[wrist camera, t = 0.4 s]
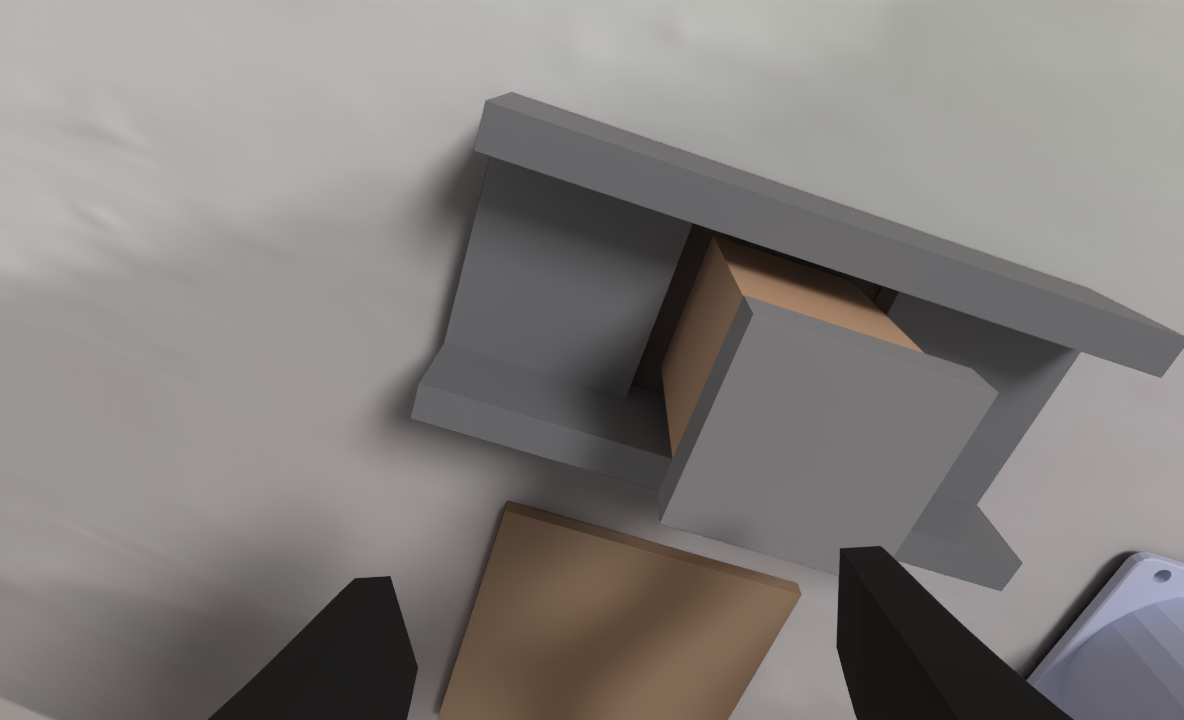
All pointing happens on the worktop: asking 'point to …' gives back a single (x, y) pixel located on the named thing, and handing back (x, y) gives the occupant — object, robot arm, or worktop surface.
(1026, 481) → the worktop surface
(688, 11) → the worktop surface
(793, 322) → the plug
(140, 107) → the worktop surface
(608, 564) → the walnut pad
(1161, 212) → the worktop surface
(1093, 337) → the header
